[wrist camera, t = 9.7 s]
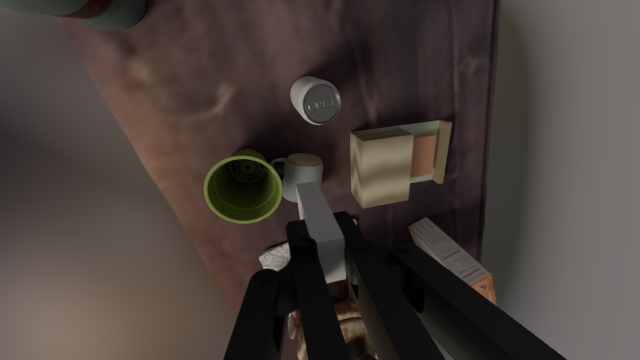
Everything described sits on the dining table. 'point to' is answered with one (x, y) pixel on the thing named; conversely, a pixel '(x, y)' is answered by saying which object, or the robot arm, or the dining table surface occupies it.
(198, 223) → the dining table surface
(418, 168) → the orange rectangular slab
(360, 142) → the beige rectangular slab
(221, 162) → the plant pot
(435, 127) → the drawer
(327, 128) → the dining table surface
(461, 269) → the cracker box
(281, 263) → the cookie jar
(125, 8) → the bottle
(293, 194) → the ceramic mug
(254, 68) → the dining table surface
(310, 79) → the can
